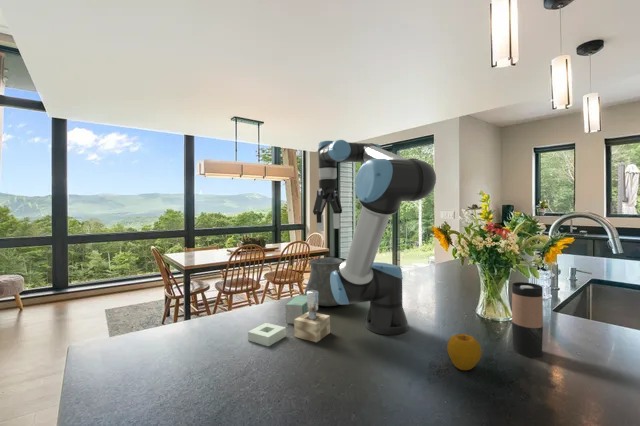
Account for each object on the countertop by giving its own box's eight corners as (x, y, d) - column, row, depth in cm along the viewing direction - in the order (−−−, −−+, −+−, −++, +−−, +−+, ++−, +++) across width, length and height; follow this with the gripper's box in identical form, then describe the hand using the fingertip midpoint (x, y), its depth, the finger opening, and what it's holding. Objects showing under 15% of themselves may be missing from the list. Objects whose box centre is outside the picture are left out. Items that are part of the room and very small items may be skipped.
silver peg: (320, 330, 108) (320, 291, 108) (314, 334, 105) (314, 293, 104) (310, 328, 110) (310, 289, 110) (304, 332, 107) (304, 292, 106)
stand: (285, 336, 107) (285, 327, 107) (268, 346, 99) (268, 337, 99) (266, 330, 111) (266, 322, 111) (248, 340, 104) (248, 331, 104)
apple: (480, 380, 78) (480, 345, 78) (444, 371, 82) (444, 338, 82) (483, 364, 85) (482, 333, 85) (450, 357, 90) (449, 327, 89)
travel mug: (537, 347, 94) (537, 283, 94) (547, 359, 87) (547, 289, 87) (509, 344, 97) (509, 281, 96) (516, 355, 90) (515, 287, 89)
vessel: (338, 315, 126) (337, 266, 125) (295, 306, 138) (294, 262, 137) (360, 300, 144) (360, 258, 144) (320, 294, 156) (320, 254, 155)
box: (314, 312, 129) (313, 295, 129) (303, 325, 116) (302, 305, 116) (297, 311, 132) (297, 294, 131) (285, 323, 119) (284, 304, 118)
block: (330, 332, 109) (329, 315, 109) (316, 342, 101) (316, 324, 101) (309, 327, 114) (308, 311, 113) (294, 336, 106) (294, 319, 106)
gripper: (334, 181, 141) (335, 227, 142) (303, 177, 120) (304, 231, 121) (349, 180, 137) (350, 227, 138) (319, 176, 116) (320, 232, 117)
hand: (328, 229), depth 129 cm, fingers open, 13 cm apart
